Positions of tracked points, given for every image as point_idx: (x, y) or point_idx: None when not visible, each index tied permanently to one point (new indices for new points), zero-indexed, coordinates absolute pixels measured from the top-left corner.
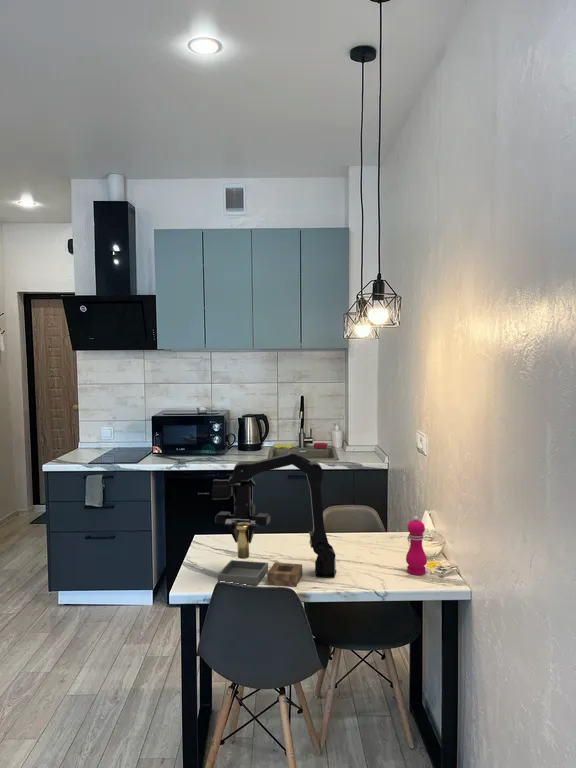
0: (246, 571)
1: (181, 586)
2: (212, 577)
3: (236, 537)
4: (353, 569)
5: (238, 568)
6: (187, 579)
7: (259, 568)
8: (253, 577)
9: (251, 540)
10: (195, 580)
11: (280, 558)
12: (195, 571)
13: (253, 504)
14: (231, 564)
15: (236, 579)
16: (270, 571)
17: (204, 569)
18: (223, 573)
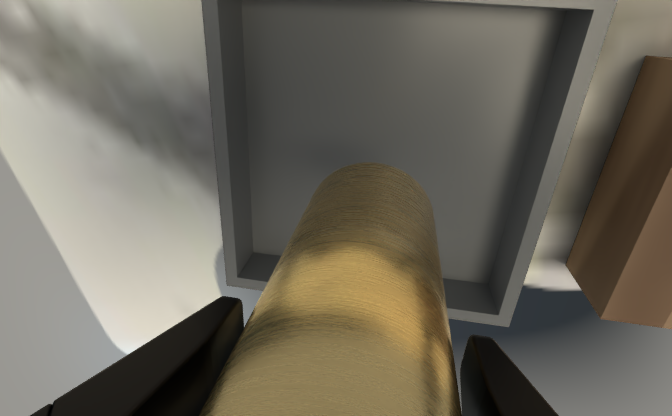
0: (386, 78)
1: (93, 294)
2: (179, 176)
3: (204, 396)
4: None
5: (301, 13)
6: (63, 213)
7: (500, 7)
8: (481, 321)
9: (510, 374)
10: (111, 224)
11: None
12: (22, 84)
13: None
14: (229, 16)
15: None
16: (633, 293)
17: (52, 36)
18: (242, 206)
